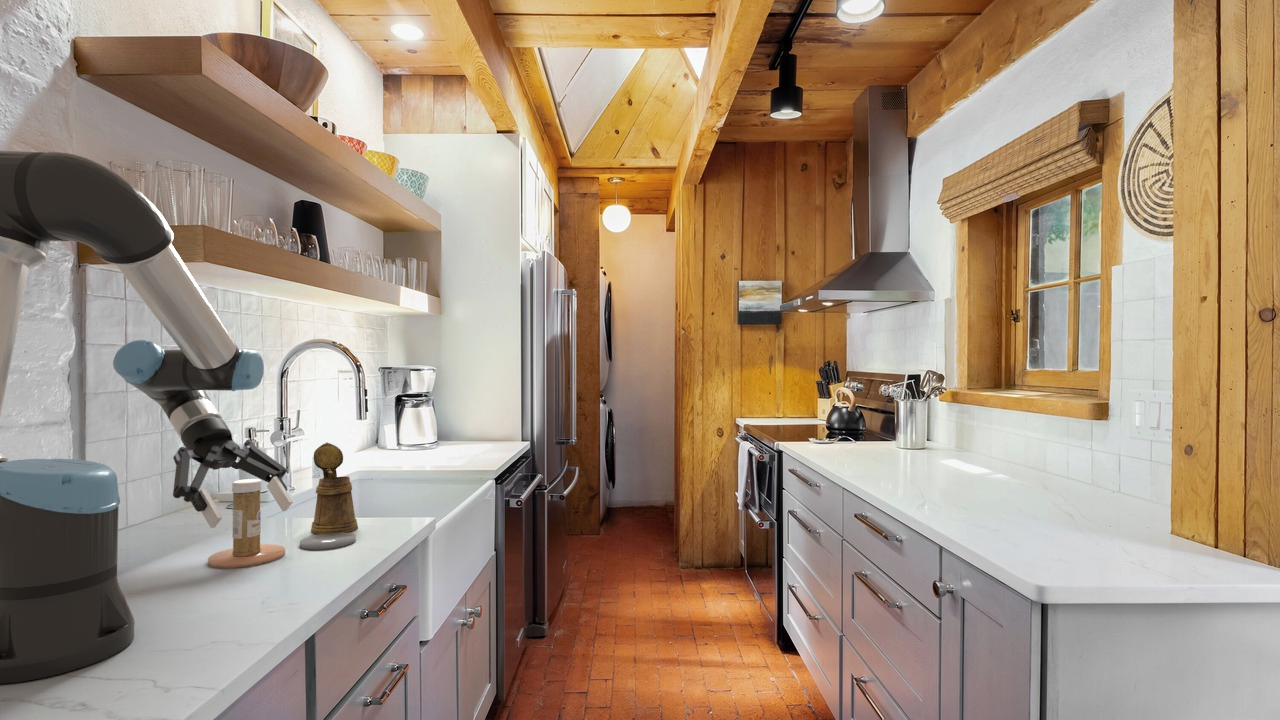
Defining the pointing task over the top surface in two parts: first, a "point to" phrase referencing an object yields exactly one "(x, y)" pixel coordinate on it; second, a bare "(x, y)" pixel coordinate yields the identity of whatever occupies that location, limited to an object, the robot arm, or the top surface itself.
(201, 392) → the robot arm
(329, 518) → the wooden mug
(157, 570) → the top surface
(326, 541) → the slate coaster
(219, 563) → the terracotta coaster
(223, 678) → the top surface
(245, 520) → the sprinkles bottle
